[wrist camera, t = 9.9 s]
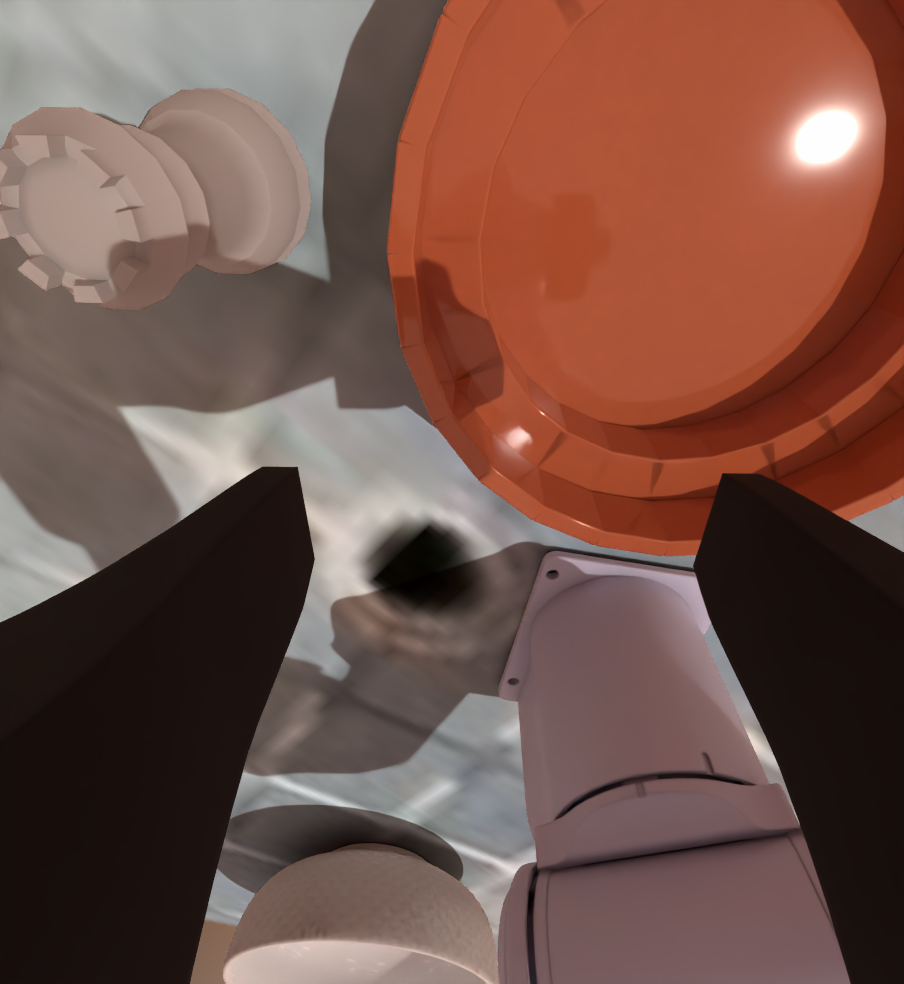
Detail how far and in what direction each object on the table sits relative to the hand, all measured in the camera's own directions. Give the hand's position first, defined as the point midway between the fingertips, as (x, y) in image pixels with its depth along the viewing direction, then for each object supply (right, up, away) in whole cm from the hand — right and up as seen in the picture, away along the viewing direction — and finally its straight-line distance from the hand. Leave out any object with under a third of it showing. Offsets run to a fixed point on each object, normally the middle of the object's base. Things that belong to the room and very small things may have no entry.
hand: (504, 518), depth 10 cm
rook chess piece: (-7, +9, +6) cm, 13 cm away
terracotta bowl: (+6, +8, +6) cm, 12 cm away
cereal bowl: (-6, -26, +30) cm, 40 cm away
